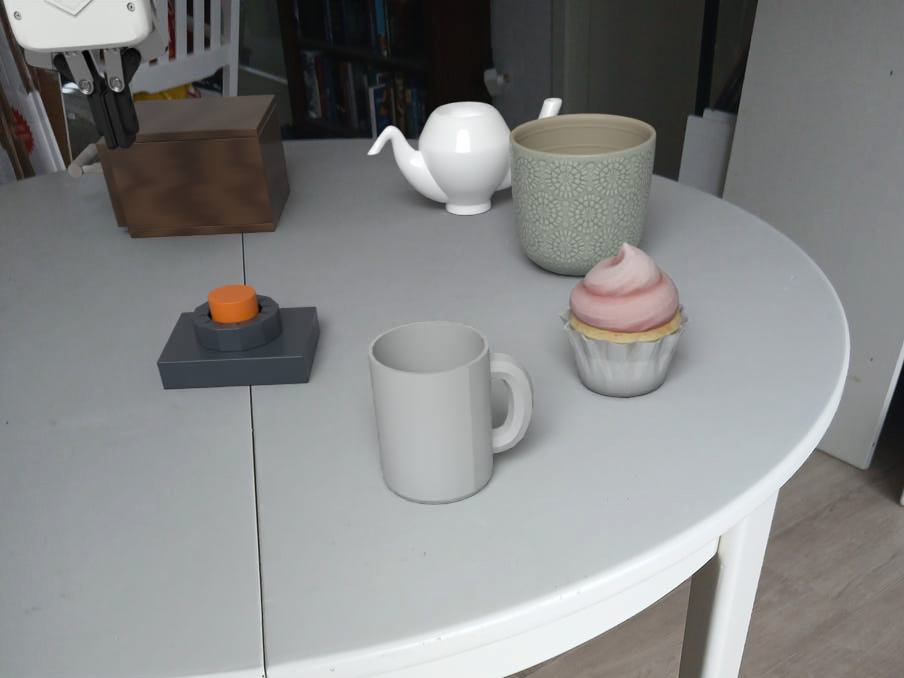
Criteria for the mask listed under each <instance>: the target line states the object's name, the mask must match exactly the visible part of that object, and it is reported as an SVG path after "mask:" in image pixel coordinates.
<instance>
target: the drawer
mask: <svg viewBox="0 0 904 678" xmlns="http://www.w3.org/2000/svg"><path fill="white" fill-rule="evenodd" d="M98 159H99V162H100V164H95V163H96V161H97V160H98ZM67 173H68V174H69V175H70V176H71V177H72V178H74V179H76V180H77V179H81V178H82V177H83V175H85V174H98V173H102V174H103V177H104V181H105V184H106V187H107V193H108V195H109V198H110V199H109V200H110V202H111V206H112V210H113V213H114V217H115V220H116V224H117V227H118V228H128V224H127V221H126V217H125V213H124V209H123V206H122V202H121V198H120V195H119V191H118V187H117V184H116V180H115V176H114V173H113V169H112V165H111V161H110V158H109V154H108V150H107V147H106V143H105V139H104V136H101V138H100V139H99V140H98V141H97V142H96V143H90V144H88V145H87V146H86V147H85V148H84V149H83V150H82V151H81V152H80V153H79V155H78V156H77V157H75V159H74V160H73V161H72V162H71V163H70V164H69V165H68V167H67Z"/></svg>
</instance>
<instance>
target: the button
mask: <svg viewBox="0 0 904 678" xmlns="http://www.w3.org/2000/svg"><path fill="white" fill-rule="evenodd" d="M256 294H257V292H256V289H255V288H254V287H253V286H251V285H246V284H228V285H223V286H219V287H217V288H214V289H212V290H211V291H210V292H209V293H208V294H207V301H208V302H209V307H210V311H211V315H212V319H213V321H217V322H221V323H229V322H241V321H244V320H248V319H251V318H253V317H255V316H256V315H258V314H259V307H258V302H257V297H256Z"/></svg>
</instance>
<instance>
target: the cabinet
mask: <svg viewBox="0 0 904 678" xmlns="http://www.w3.org/2000/svg"><path fill="white" fill-rule="evenodd" d="M276 100H277V99H276V95H275V94H257V95H255V94H254V95H237V96H233V95H232V96H214V97H213V96H212V97H193V98H173V99H171V98H170V99H152V100H151V99H150V100H135V102H133V103H134V107H135V111H136V114H137V118H138V122H139V132H138V133H136V140H135V141H134V143H133V144H132V145H131V146H130V148H126V149H122V148H121V147H117V148H116V149H113V150H109V149H108V147H107V144H106V147H107V150H108V154H109V158H110V161H111V165H112V169H113V173H114V176H115V180H116V184H117V187H118V191H119V195H120V198H121V202H122V206H123V209H124V213H125V217H126V221H127V224H128V227H127V228H128V232H129V235H130V238H131V239H136V238H138V239H139V238H158V237H159V238H161V237H180V236H181V237H182V236H203V235H221V234H223V235H224V234H245V233H246V234H247V233H248V234H249V233H267V232H275V231H276V228H277V226H278V224H279V223H278V222H279V221H280V218H281V216H282V213H283V210H284V208H285V206H286V203H287V200H288V198H289V195H290V192H291V187H290V181H289V175H288V168H287V161H286V156H285V149H284V144H283V143H284V142H283V137H282V131H281V125H280V119H279V118H280V117H279V112H278V106H277V101H276ZM104 139H105V137H104ZM105 143H106V141H105Z"/></svg>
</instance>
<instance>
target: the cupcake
mask: <svg viewBox="0 0 904 678" xmlns="http://www.w3.org/2000/svg"><path fill="white" fill-rule="evenodd" d="M679 294H680V293H679V289H678V288H677V286H676V285H675V282H674V281H673V279H672V278H671V277H670V276H669V274H668V273H667V272H666V271H664V269H662V268H660V267H659V266H658V265H657V263H656V261H655V260H654V259H653V258H652V257H651V255H649V254H648V253H647V252H645V251H644V250H642V249H641V248H639V247H638V246H637V247H634V246H632V245H630V244H628V243H623V245H622V247H621V249H620V250H619V253H618V256H614V257H609V258H606V259H604V260H602V261H600V262H599V263H598V264H596V265H595V266H594V267H593V268H592V269H591V270H590V271H589V272H588V273H587V274H586V275H584V278H583V279H581V280H580V281H578V283H576V284H575V285H574V287H573V288H572V290H571V291H570V294H569V298H568V304H569V307H570V308H569V309H567V310H564V311H561V312H560V313H559V314H558V315H559V317H560V318H559V319H561V321H562V323H563V330H564V332H565V334H566V336H567V338H568V340H569V341H570V344H571V346H572V351H573V357H574V361H575V366H576V370H577V375H578V377H579V378H578V379H580V381H581V384H583V385H584V387H586V388H587V389H589V390H591V391H592V392H595V393H597V394H601V395H604V396H608V397H618V398H621V397H623V398H624V397H625V398H630V397H636V396H641V395H646V394H648V393H651V392H653V391H655V390H656V389H658V388H660V386H661V385H662V384H663V382H665V379H666V376H667V375H668V374H667V373H668V370H669V368H670V366H671V362H672V359H673V357H674V354H675V351H676V349H677V347H678V344H679V341H680V340H681V338H682V336H683V335H684V333H685V331H686V329H687V328H688V325H689V324H690V322H691V320H692V319H691V316H689V315H688V314H686V313H684V312H685V309H686V306H685V304H683V303H680V296H679Z"/></svg>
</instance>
